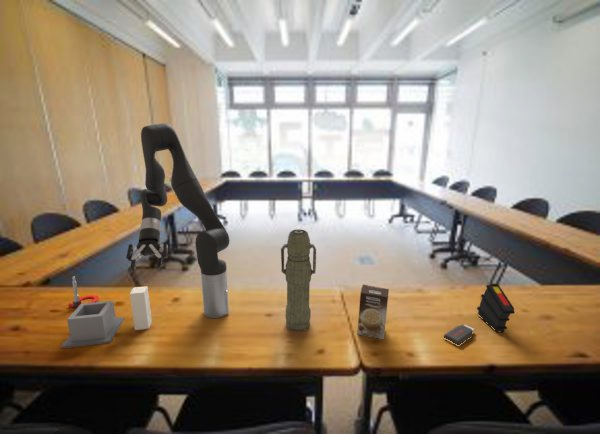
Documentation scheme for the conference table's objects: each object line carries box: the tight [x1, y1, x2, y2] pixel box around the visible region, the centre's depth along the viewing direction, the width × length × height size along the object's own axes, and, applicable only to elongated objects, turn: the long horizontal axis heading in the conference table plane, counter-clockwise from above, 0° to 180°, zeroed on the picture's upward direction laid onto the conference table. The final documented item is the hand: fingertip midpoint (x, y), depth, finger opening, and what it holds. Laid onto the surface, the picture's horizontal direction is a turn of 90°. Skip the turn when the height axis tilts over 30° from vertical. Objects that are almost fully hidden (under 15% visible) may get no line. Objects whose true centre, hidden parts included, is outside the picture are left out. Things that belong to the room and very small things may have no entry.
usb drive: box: [443, 324, 475, 345], centre depth 106 cm, size 5×12×3 cm, turn 125°
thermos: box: [280, 228, 317, 332], centre depth 108 cm, size 9×12×35 cm
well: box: [60, 300, 125, 349], centre depth 105 cm, size 14×14×9 cm
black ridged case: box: [476, 283, 516, 332], centre depth 112 cm, size 4×13×15 cm, turn 3°
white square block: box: [129, 285, 153, 331], centre depth 109 cm, size 4×4×14 cm
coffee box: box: [356, 284, 390, 340], centre depth 106 cm, size 9×6×16 cm
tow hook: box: [68, 275, 100, 309], centre depth 124 cm, size 8×13×9 cm
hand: (146, 269), depth 117 cm, fingers open, 8 cm apart
